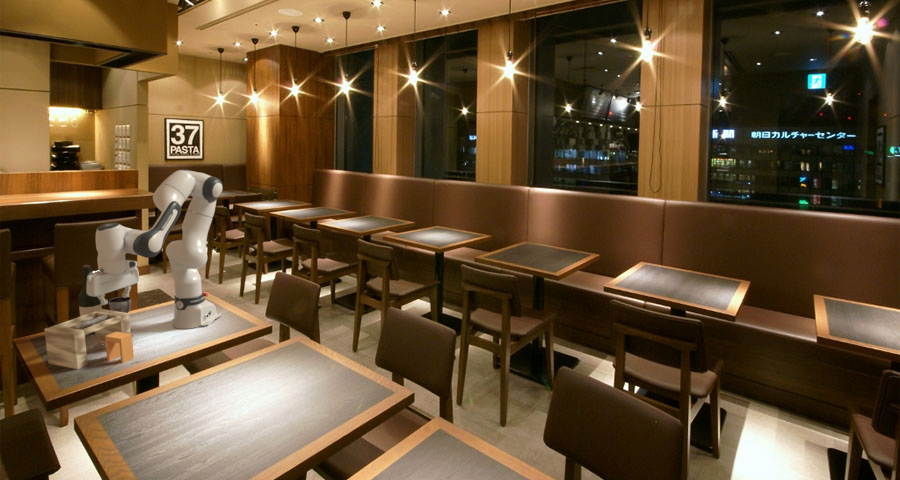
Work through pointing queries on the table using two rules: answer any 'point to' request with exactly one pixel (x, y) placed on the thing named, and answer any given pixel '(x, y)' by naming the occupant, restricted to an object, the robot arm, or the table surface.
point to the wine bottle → (87, 298)
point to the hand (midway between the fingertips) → (115, 300)
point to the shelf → (82, 336)
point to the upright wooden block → (119, 346)
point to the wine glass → (120, 304)
